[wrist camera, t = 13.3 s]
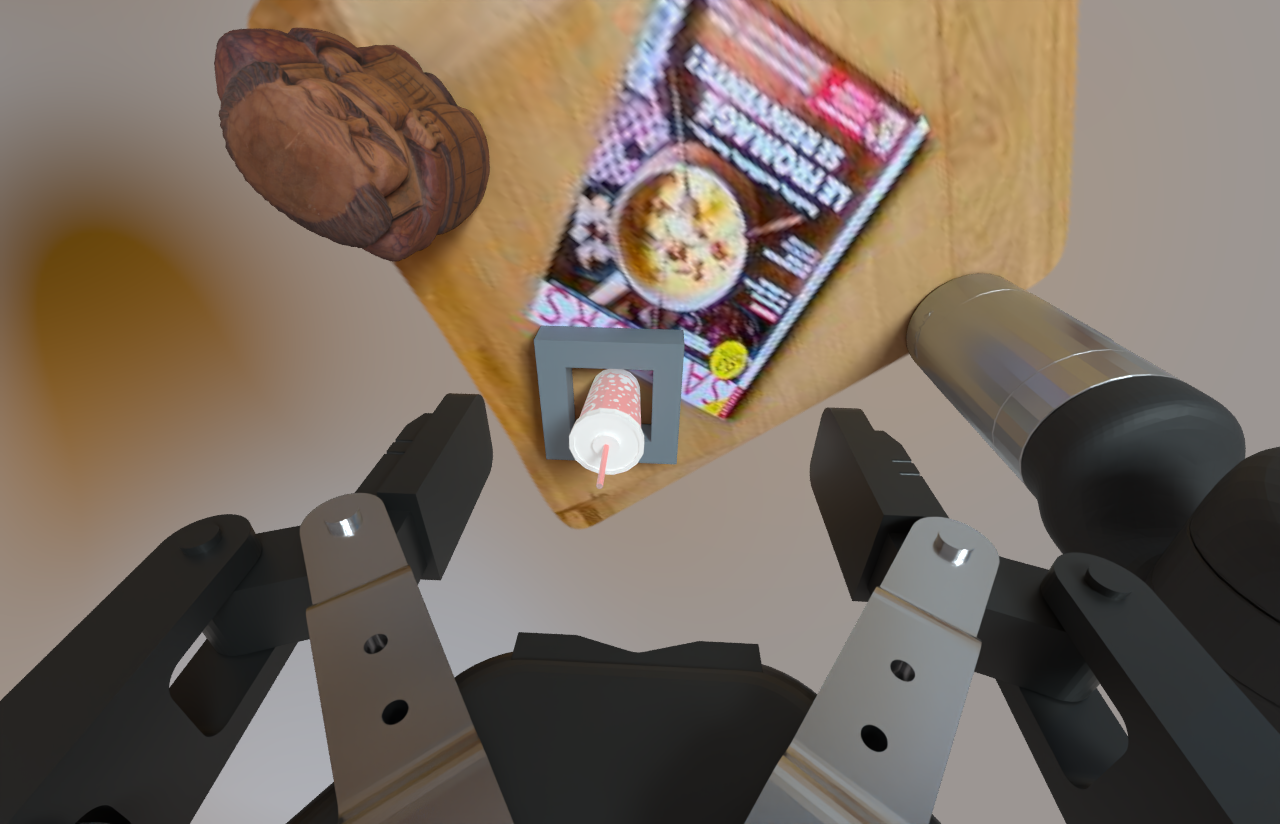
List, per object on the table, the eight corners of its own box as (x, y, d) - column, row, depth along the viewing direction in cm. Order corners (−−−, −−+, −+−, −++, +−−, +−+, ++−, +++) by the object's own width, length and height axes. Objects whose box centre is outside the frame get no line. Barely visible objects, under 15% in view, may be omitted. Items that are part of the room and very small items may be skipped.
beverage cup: (626, 349, 47) (612, 439, 35) (659, 399, 49) (657, 499, 38) (571, 378, 48) (540, 473, 37) (606, 425, 51) (588, 527, 39)
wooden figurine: (521, 163, 39) (427, 213, 24) (469, 222, 41) (354, 302, 26) (387, 18, 34) (165, -35, 19) (338, 93, 37) (108, 100, 22)
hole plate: (683, 330, 45) (684, 344, 43) (675, 445, 52) (676, 464, 50) (541, 325, 46) (533, 339, 43) (552, 441, 52) (546, 459, 50)
